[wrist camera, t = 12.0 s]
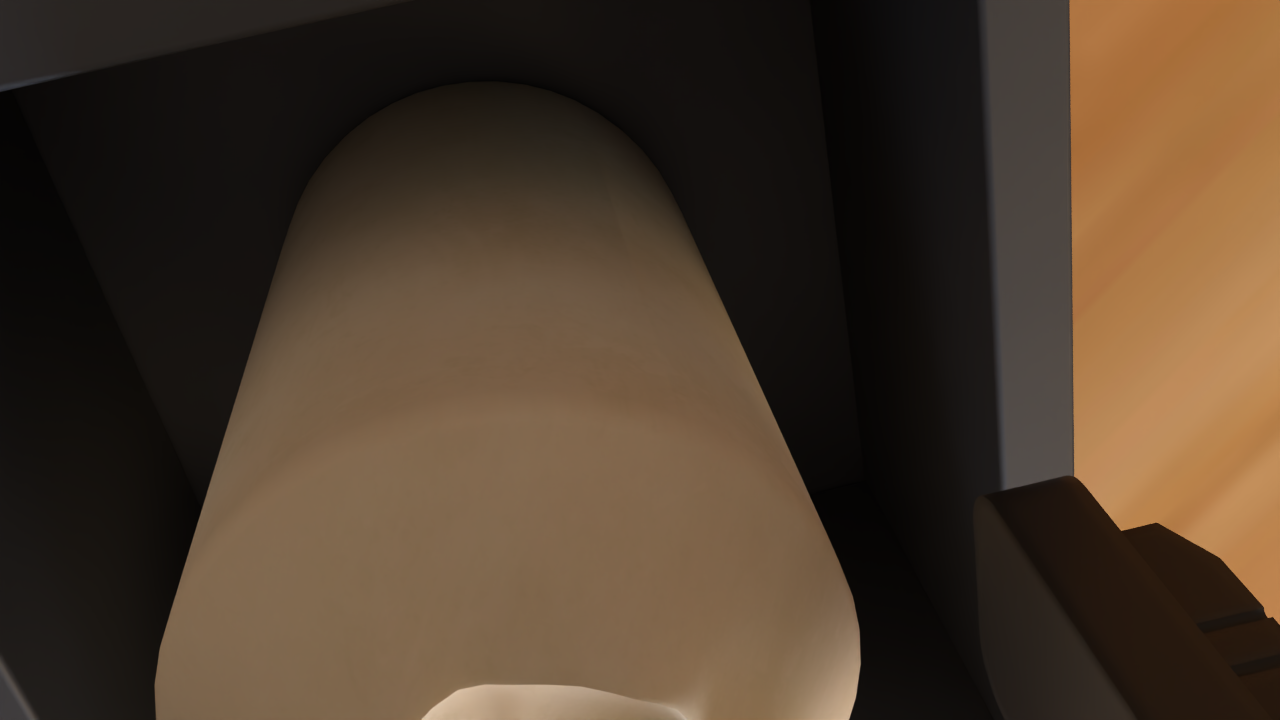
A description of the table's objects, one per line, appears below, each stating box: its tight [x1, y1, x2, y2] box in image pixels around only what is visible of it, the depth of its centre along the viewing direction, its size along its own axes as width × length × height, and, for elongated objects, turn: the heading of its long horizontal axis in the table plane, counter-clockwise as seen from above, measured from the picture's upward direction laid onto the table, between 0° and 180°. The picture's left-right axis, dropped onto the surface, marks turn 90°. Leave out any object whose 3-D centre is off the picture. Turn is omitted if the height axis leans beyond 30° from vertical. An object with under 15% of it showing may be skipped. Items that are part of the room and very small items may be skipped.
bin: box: [0, 0, 1074, 720], centre depth 15 cm, size 12×12×7 cm
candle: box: [155, 81, 861, 720], centre depth 13 cm, size 6×6×10 cm
